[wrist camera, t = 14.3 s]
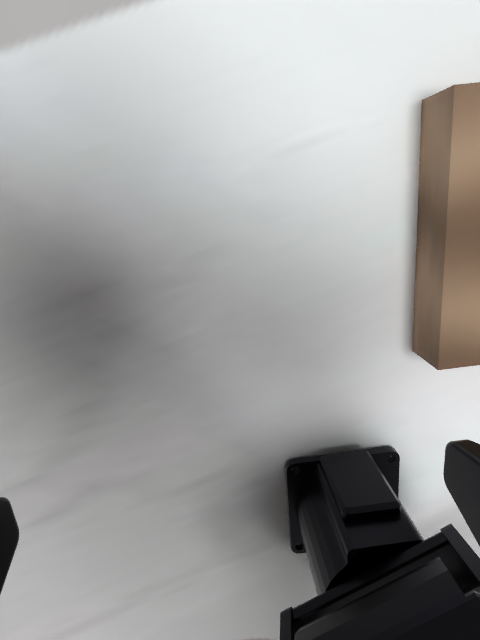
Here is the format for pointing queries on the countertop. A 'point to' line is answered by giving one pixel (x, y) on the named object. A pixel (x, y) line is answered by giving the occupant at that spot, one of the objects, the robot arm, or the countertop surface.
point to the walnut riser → (449, 230)
